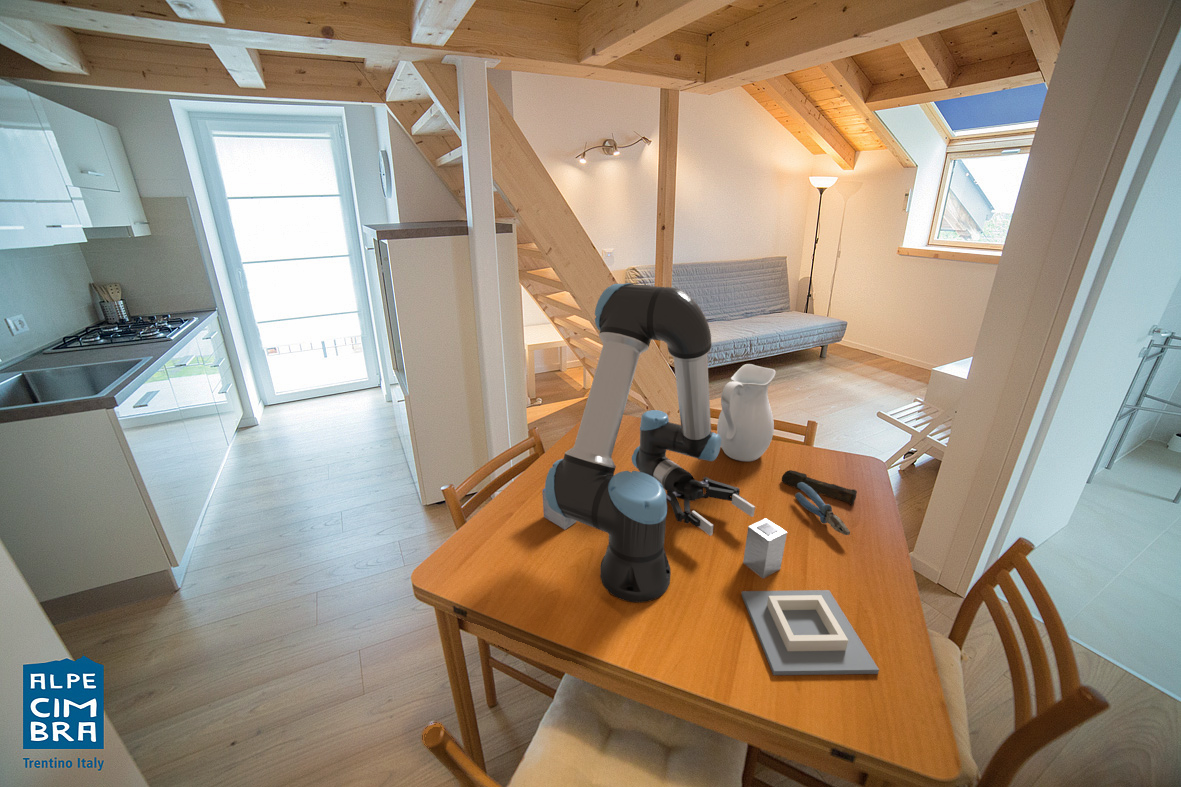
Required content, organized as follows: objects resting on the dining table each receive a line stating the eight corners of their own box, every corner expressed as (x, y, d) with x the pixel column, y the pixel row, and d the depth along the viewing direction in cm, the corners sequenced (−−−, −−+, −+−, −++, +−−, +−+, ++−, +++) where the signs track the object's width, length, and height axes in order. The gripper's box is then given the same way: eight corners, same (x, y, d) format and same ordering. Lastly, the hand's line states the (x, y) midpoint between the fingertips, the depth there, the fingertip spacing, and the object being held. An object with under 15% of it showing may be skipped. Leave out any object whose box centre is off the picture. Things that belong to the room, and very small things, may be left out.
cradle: (773, 675, 81) (776, 660, 80) (741, 594, 98) (743, 581, 97) (877, 673, 82) (882, 659, 80) (828, 593, 98) (831, 580, 97)
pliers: (849, 544, 112) (854, 524, 110) (841, 545, 112) (845, 525, 110) (800, 497, 131) (803, 478, 129) (793, 497, 130) (796, 479, 128)
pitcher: (733, 436, 165) (742, 359, 154) (779, 453, 153) (792, 372, 143) (691, 460, 150) (698, 376, 139) (739, 481, 138) (750, 392, 128)
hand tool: (855, 500, 129) (859, 486, 128) (852, 507, 126) (856, 492, 125) (784, 478, 140) (786, 464, 138) (780, 484, 137) (782, 470, 135)
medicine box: (577, 522, 121) (576, 493, 118) (564, 530, 118) (563, 501, 115) (555, 510, 126) (554, 481, 123) (543, 517, 123) (541, 489, 120)
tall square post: (762, 578, 102) (769, 540, 99) (743, 563, 107) (748, 525, 103) (780, 569, 105) (787, 531, 101) (760, 554, 110) (766, 517, 106)
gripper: (707, 478, 136) (767, 517, 119) (636, 505, 124) (691, 552, 107) (709, 455, 133) (771, 491, 116) (637, 480, 121) (694, 525, 104)
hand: (733, 521), depth 111 cm, fingers open, 13 cm apart
